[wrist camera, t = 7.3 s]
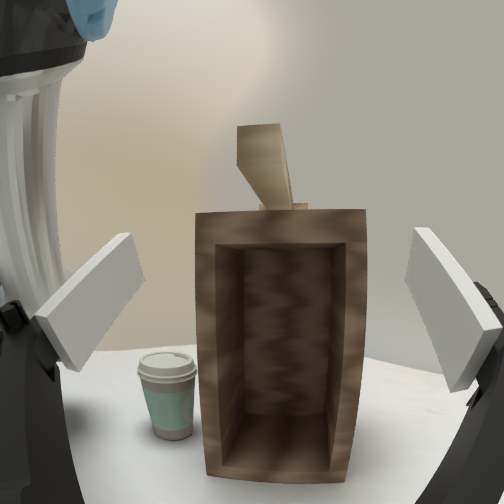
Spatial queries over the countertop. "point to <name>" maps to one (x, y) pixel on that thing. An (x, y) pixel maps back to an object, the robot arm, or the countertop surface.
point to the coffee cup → (169, 392)
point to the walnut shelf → (280, 341)
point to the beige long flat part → (266, 166)
